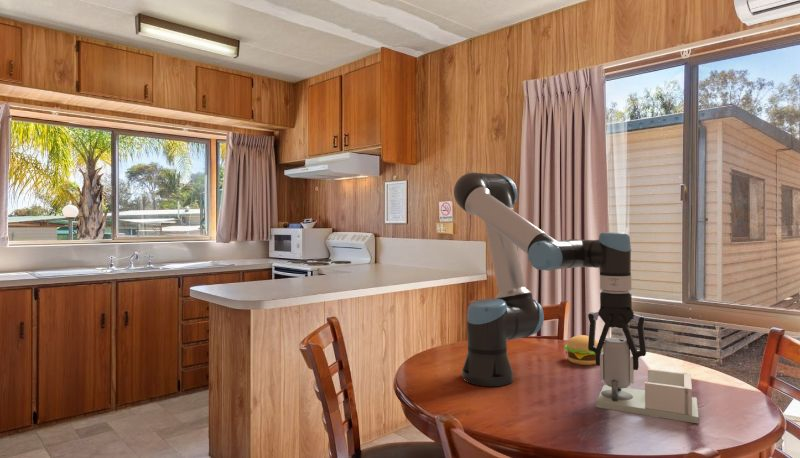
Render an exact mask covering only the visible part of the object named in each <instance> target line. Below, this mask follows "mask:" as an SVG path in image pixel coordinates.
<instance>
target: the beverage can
mask: <svg viewBox="0 0 800 458" xmlns="http://www.w3.org/2000/svg"><path fill="white" fill-rule="evenodd" d="M602 351H603V358H604V380H603V382H604V383H605V385H607V386H609V387H612V380H617V381H618V388H620V389H622V388H629V386H631V384H632V383H630V355H631V350H630V347H629V345H628V342H627V339H626V338H621V337H606V338H605V342H604V343H603V347H602Z"/></svg>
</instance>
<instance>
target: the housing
mask: <svg viewBox="0 0 800 458" xmlns="http://www.w3.org/2000/svg"><path fill="white" fill-rule="evenodd" d="M644 390H645V408H649V409H656V410H662V411H669V412H675V413H682V414H688V415H692V397H693V388H692V374H691V373H689V372H681V371H672V370H663V369H656V368H647V381H645V382H644Z"/></svg>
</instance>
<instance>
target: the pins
mask: <svg viewBox="0 0 800 458" xmlns="http://www.w3.org/2000/svg"><path fill="white" fill-rule="evenodd" d="M618 390H619V391H621V390H622V389H620V388H618V381H617V380H612V401H618Z"/></svg>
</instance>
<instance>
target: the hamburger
mask: <svg viewBox="0 0 800 458" xmlns="http://www.w3.org/2000/svg"><path fill="white" fill-rule="evenodd" d="M588 342H589V335H586V334H585V335H584V334H579V335H575V336H572V337H571V338H569V340H568V341H567V344H565V345H564V349H565V353H566V355H567V359H568V361H569V362H570V363H573V364H576V365H581V366H594V365H596V354H595V352H593V351H590V350H588ZM598 342H599V341H598V340H596V339H595V343H594V346H596V347H597V345H598ZM602 351H603V349H602V350H601V352H602Z"/></svg>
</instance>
